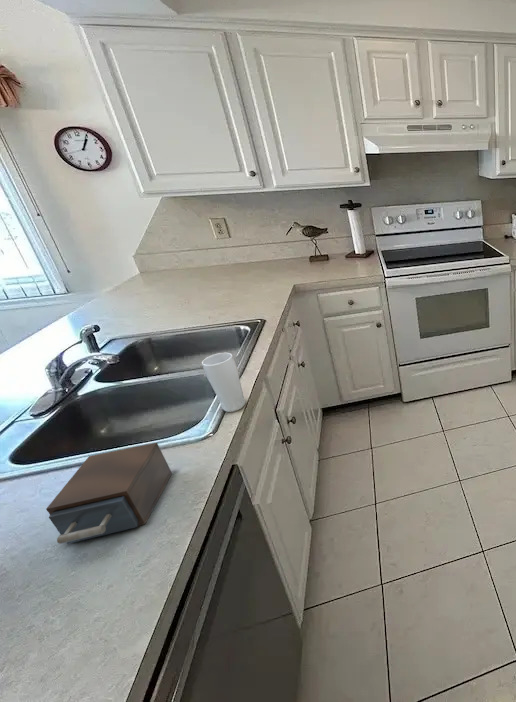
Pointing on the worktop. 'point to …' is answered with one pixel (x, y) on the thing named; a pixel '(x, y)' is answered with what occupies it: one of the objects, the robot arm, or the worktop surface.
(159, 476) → the cabinet
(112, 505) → the drawer
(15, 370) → the worktop surface
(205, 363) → the drinking glass
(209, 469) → the worktop surface
